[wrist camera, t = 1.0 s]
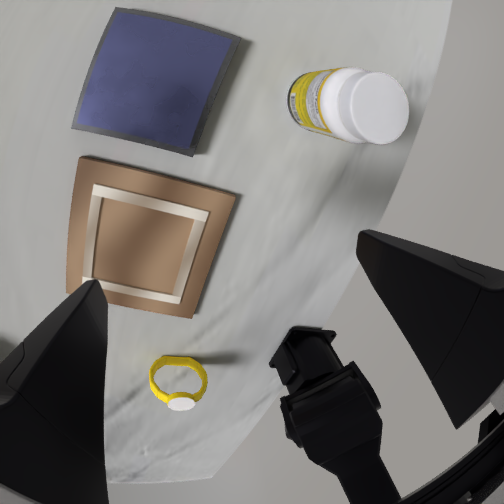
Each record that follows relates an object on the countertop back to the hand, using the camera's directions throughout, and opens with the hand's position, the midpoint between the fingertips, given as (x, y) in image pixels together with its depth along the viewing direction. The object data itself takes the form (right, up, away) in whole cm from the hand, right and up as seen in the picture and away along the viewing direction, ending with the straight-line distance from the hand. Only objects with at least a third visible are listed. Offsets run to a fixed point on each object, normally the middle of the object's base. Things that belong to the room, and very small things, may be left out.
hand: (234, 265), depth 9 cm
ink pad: (-6, +12, +7) cm, 15 cm away
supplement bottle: (+5, +12, +10) cm, 16 cm away
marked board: (-8, +1, +12) cm, 15 cm away
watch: (-8, -11, +20) cm, 24 cm away
